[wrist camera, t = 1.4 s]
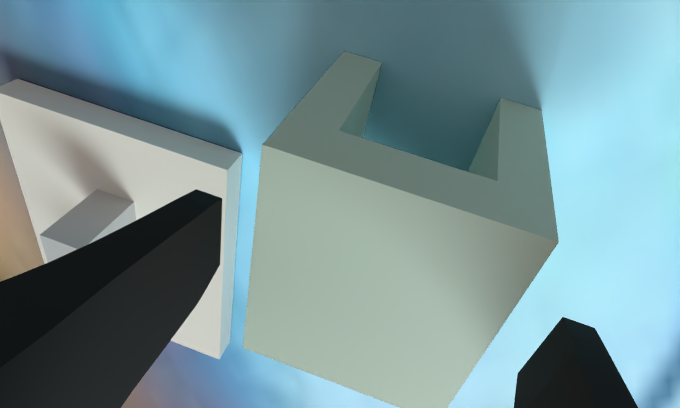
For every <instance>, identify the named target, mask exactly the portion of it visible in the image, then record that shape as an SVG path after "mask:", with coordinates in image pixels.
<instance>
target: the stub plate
mask: <svg viewBox="0 0 680 408" xmlns="http://www.w3.org/2000/svg"><path fill="white" fill-rule="evenodd" d="M0 120H1V124H2V127H3V130H4V133H5V137H6V140H7V143H8V146H9V150H10V153H11V156H12V159H13V162H14V166H15V169H16V172H17V175H18V179H19V182H20V185H21V188H22V192H23V195H24V198H25V201H26V205H27V208H28V211H29V214H30V218H31V221H32V224H33V227H34V231H35V234H36V237H37V240H38V244H39V247H40V250H41V253H42V257H43V260H44V263H45V264H46V263H48V262H51V261H53V260H55V259H57V258H59V257H62V256H64V255H66V254H68V253H70V252H72V251H75V250H77V249H79V248H81V247H83V246H86V245H88V244H90V243H92V242H94V241H96V240H98V239H100V238H102V237H104V236H106V235H108V234H110V233H112V232H114V231H116V230H118V229H120V228H122V227H124V226H126V225H128V224H130V223H132V222H134V221H136V220H138V219H140V218H142V217H144V216H146V215H147V214H149V213H151V212H153V211H155V210H157V209H159V208H161V207H163V206H164V205H166V204H168V203H170V202H172V201H174V200H176V199H178V198H180V197H182V196H184V195H186V194H188V193H190V192H192V191H194V190H196V189H197V190H200V191H203V192H206V193H209V194H212V195H215V196H217V197H220V198H222V224H221V254H220V266H219V267H218V269H217V271H216V273H215V275H214V276H213V278H212V280H211V282H210V283H209V285H208V287H207V289H206V290H205V292H204V294H203V295H202V297H201V299H200V301H199V302H198V304H197V305H196V307H195V308H194V309H193V311H192V312H191V313H190V315H189V316H188V317H187V319H186V320H185V322H184V323H183V324H182V326H181V327H180V328H179V330H178V331H177V332H176V334H175V335H174V336H173V338H172V339H171V341H173V342H176V343H178V344H181V345H184V346H186V347H189V348H191V349H194V350H196V351H199V352H202V353H204V354H207V355H209V356H212V357H215V358H217V359H220V357H221V356H222V354H223V352H224V350H225V349H226V347H227V345H228V344H229V342H230V335H231V320H232V305H233V290H234V275H235V259H236V244H237V229H238V214H239V199H240V183H241V168H242V153H239V152H236V151H233V150H230V149H227V148H224V147H221V146H218V145H215V144H212V143H209V142H206V141H203V140H200V139H197V138H194V137H191V136H188V135H185V134H182V133H179V132H176V131H173V130H170V129H167V128H164V127H161V126H158V125H155V124H152V123H149V122H146V121H143V120H140V119H137V118H134V117H131V116H128V115H125V114H122V113H119V112H116V111H113V110H110V109H107V108H104V107H101V106H98V105H95V104H92V103H89V102H86V101H83V100H80V99H77V98H74V97H71V96H68V95H65V94H62V93H59V92H56V91H53V90H50V89H47V88H44V87H41V86H38V85H35V84H32V83H29V82H26V81H23V80H20V79H16V80H13V81H11V82H9V83H6V84H4V85H2V86H0Z"/></svg>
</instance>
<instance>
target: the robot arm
mask: <svg viewBox="0 0 680 408" xmlns="http://www.w3.org/2000/svg"><path fill="white" fill-rule="evenodd" d="M221 224H222V198H220V197H217V196H215V195H212V194H209V193H206V192H203V191H200V190H197V189H196V190H194V191H192V192H190V193H188V194H186V195H184V196H182V197H180V198H178V199H176V200H174V201H172V202H170V203H168V204H166V205H164V206H163V207H161V208H159V209H157V210H155V211H153V212H151V213H149V214H147V215H146V216H144V217H142V218H140V219H138V220H136V221H134V222H132V223H130V224H128V225H126V226H124V227H122V228H120V229H118V230H116V231H114V232H112V233H110V234H108V235H106V236H104V237H102V238H100V239H98V240H96V241H94V242H92V243H90V244H88V245H86V246H83V247H81V248H79V249H77V250H75V251H72V252H70V253H68V254H66V255H64V256H62V257H59V258H57V259H55V260H53V261H51V262H48V263H46V264H44V265H41V266H39V267H37V268H34V269H32V270H29V271H27V272H24V273H22V274H19V275H17V276H14V277H12V278H9V279H7V280H4V281H1V282H0V408H121V406H122V405H123V404H124V402H125V401H126V399H127V398H128V396H129V395H130V394H131V392H132V391H133V389H134V388H135V387H136V385H137V384H138V383H139V381H140V380H141V379H142V377H143V376H144V375H145V373H146V372H147V371H148V369H149V368H150V367H151V365H152V364H153V363H154V361H155V360H156V359H157V357H158V356H159V355H160V353H161V352H162V351H163V349H164V348H165V347H166V346H167V344H168V343H169V342H170V340H171V339H172V338H173V336H174V335H175V334H176V332H177V331H178V330H179V328H180V327H181V326H182V324H183V323H184V322H185V320H186V319H187V317H188V316H189V315H190V313H191V312H192V311H193V309H194V308H195V307H196V305H197V304H198V302H199V301H200V299H201V297H202V295H203V294H204V292H205V290H206V289H207V287H208V285H209V283H210V282H211V280H212V278H213V276H214V275H215V273H216V271H217V269H218V267H219V266H220V254H221ZM514 408H638V407H637V405H636V403H635V401H634V399H633V398H632V396H631V394H630V392H629V390H628V388H627V386H626V385H625V383H624V381H623V379H622V377H621V375H620V374H619V372H618V370H617V368H616V366H615V364H614V362H613V361H612V359H611V357H610V355H609V353H608V351H607V349H606V348H605V346H604V344H603V342H602V340H601V338H600V337H599V335H598V333H597V331H596V330H595V328H593V327H590V326H587V325H584V324H581V323H579V322H576V321H573V320H570V319H567V318H564V317H562V319H561V320H560V321H559V322H558V324H557V325H556V326H555V328H554V329H553V330H552V331H551V333H550V334H549V335H548V336H547V338H546V339H545V340H544V341H543V343H542V344H541V345H540V346H539V348H538V349H537V350H536V351H535V353H534V354H533V355H532V356H531V358H530V359H529V360H528V361H527V363H526V364H525V365H524V366H523V368H522V369H521V370H520V371H519V373H518V377H517V385H516V393H515V402H514Z"/></svg>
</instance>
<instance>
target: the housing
mask: <svg viewBox="0 0 680 408" xmlns="http://www.w3.org/2000/svg"><path fill="white" fill-rule="evenodd" d="M381 64H382V62H379V61H376V60H372V59H369V58H366V57H362V56H359V55H356V54H352V53H349V52H346V51H344V52H343V53H342V54H341V55H340V56H339V57H338V58H337V60H336V61H335V62H334V63H333V64H332V65H331V66H330V68H329V69H328V70H327V71H326V72H325V73H324V74H323V76H322V77H321V78H320V79H319V80H318V81H317V83H316V84H315V85H314V86H313V87H312V88H311V89H310V91H309V92H308V93H307V94H306V95H305V96H304V97H303V99H302V100H301V101H300V102H299V103H298V104H297V105H296V107H295V108H294V109H293V110H292V111H291V112H290V114H289V115H288V116H287V117H286V118H285V119H284V120H283V122H282V123H281V124H280V125H279V126H278V127H277V128H276V130H275V131H274V132H273V133H272V134H271V135H270V137H269V138H268V139H267V140H266V141H265V142H264V143H263V145H262V154H261V165H260V175H259V186H258V196H257V206H256V217H255V227H254V237H253V248H252V258H251V269H250V279H249V289H248V300H247V310H246V320H245V331H244V341H243V348H245V349H248V350H250V351H253V352H255V353H258V354H261V355H263V356H266V357H269V358H271V359H274V360H276V361H279V362H282V363H284V364H287V365H289V366H292V367H295V368H297V369H300V370H303V371H305V372H308V373H310V374H313V375H316V376H318V377H321V378H324V379H326V380H329V381H331V382H334V383H337V384H339V385H342V386H344V387H347V388H350V389H352V390H355V391H358V392H360V393H363V394H365V395H368V396H371V397H373V398H376V399H378V400H381V401H384V402H386V403H389V404H392V405H394V406H397V407H399V408H447V407H448V406H449V404H450V403H451V401H452V400H453V398H454V397H455V395H456V394H457V392H458V391H459V389H460V388H461V386H462V385H463V384H464V382H465V381H466V379H467V378H468V376H469V375H470V373H471V372H472V370H473V369H474V367H475V366H476V364H477V363H478V361H479V360H480V358H481V357H482V355H483V354H484V352H485V351H486V349H487V348H488V346H489V345H490V343H491V342H492V340H493V339H494V337H495V336H496V334H497V333H498V331H499V330H500V328H501V327H502V326H503V324H504V323H505V321H506V320H507V318H508V317H509V315H510V314H511V312H512V311H513V309H514V308H515V306H516V305H517V303H518V302H519V300H520V299H521V297H522V296H523V294H524V293H525V291H526V290H527V288H528V287H529V285H530V284H531V282H532V281H533V279H534V278H535V276H536V275H537V273H538V272H539V271H540V269H541V268H542V266H543V265H544V263H545V262H546V260H547V259H548V257H549V256H550V254H551V253H552V251H553V250H554V248H555V247H556V245H557V244H558V242H559V241H558V233H557V226H556V218H555V210H554V202H553V194H552V187H551V179H550V171H549V163H548V156H547V148H546V140H545V132H544V124H543V117H542V110H539V109H536V108H533V107H529V106H526V105H523V104H519V103H516V102H513V101H509V100H506V99H503V98H500V100H499V103H498V105H497V107H496V109H495V112H494V114H493V116H492V119H491V121H490V123H489V125H488V128H487V130H486V132H485V134H484V137H483V139H482V141H481V143H480V146H479V148H478V150H477V152H476V155H475V157H474V159H473V161H472V164H471V166H470V168H469V170H468V172H467V171H464V170H461V169H458V168H454V167H451V166H448V165H445V164H442V163H439V162H436V161H433V160H429V159H426V158H423V157H420V156H417V155H414V154H411V153H407V152H404V151H401V150H398V149H395V148H392V147H389V146H386V145H382V144H379V143H376V142H373V141H370V140H367V139H364V138H363V135H364V131H365V128H366V124H367V120H368V116H369V112H370V108H371V104H372V100H373V96H374V92H375V88H376V84H377V80H378V76H379V72H380V68H381Z"/></svg>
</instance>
